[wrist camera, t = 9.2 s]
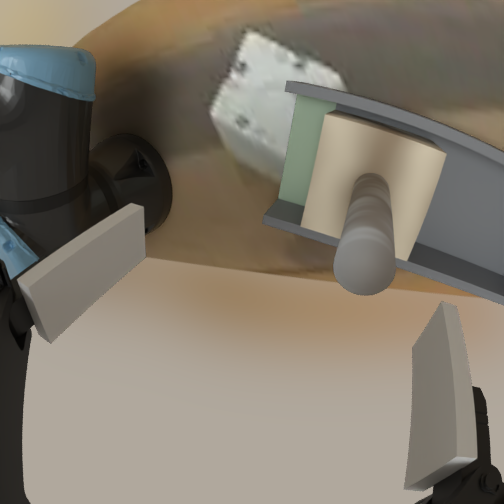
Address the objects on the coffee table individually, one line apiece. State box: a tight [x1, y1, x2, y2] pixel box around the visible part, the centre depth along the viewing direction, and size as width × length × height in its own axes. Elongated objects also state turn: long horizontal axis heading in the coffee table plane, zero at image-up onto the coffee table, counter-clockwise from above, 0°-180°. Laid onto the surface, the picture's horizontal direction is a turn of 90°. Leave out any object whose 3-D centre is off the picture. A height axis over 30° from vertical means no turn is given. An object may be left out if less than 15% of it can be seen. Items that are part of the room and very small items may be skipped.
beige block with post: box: [300, 110, 447, 295], centre depth 22 cm, size 10×10×19 cm
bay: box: [262, 81, 504, 305], centre depth 26 cm, size 30×14×6 cm, turn 80°
